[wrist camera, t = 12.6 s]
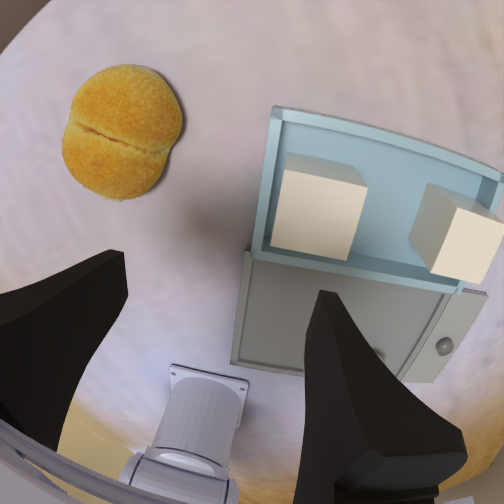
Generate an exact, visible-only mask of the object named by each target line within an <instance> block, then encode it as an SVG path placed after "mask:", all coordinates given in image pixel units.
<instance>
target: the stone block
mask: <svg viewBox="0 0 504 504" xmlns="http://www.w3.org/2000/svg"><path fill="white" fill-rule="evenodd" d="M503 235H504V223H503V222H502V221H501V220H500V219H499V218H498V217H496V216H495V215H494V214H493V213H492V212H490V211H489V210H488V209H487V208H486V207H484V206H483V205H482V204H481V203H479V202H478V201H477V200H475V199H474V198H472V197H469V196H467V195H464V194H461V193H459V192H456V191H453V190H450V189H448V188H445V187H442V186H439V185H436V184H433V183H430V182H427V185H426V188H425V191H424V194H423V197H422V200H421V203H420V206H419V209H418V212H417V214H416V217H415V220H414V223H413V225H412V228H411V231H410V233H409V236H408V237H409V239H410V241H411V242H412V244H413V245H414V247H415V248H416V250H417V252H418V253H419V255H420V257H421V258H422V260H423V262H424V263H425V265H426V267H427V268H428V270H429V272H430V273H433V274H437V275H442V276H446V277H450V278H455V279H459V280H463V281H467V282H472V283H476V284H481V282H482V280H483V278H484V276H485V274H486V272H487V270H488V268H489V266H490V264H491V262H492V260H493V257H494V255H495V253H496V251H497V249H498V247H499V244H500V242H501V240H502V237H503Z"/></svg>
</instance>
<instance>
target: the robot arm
mask: <svg viewBox="0 0 504 504" xmlns="http://www.w3.org/2000/svg"><path fill="white" fill-rule="evenodd" d="M127 298H128V288H127V279H126V270H125V260H124V252H121V251H116V250H112V249H109V250H107V251H104V252H102V253H99V254H97V255H95V256H93V257H90V258H88V259H86V260H84V261H82V262H80V263H78V264H76V265H74V266H72V267H70V268H68V269H66V270H63V271H61V272H59V273H57V274H55V275H52V276H50V277H48V278H46V279H44V280H41V281H39V282H36V283H34V284H31V285H28V286H25V287H23V288H20V289H17V290H13V291H10V292H6V293H2V294H0V504H85V503H83V502H81V501H79V500H77V499H75V498H73V497H71V496H69V495H68V494H67V492H66V491H64V490H63V489H61V488H60V487H58V486H57V485H56V484H54V483H53V482H52V481H51V480H49V479H48V478H47V477H46V476H45V475H44V474H43V473H42V472H41V471H40V470H38V469H37V468H35V467H34V466H33V465H31V464H30V463H28V462H27V461H26V460H24V458H25V459H27V460H28V461H30V462H31V463H33V464H35V465H36V466H38V467H40V468H41V469H43V470H45V471H47V472H48V473H50V474H52V475H54V476H56V477H57V478H59V479H61V480H63V481H65V482H67V483H69V484H71V485H73V486H75V487H77V488H79V489H81V490H83V491H85V492H87V493H89V494H91V495H94V496H96V497H98V498H101V499H103V500H105V501H108V502H110V503H113V504H238V501H239V486H238V484H237V483H236V481H235V480H234V479H231V478H228V476H229V471H230V469H228V468H227V466H228V462H229V457H230V452H231V448H232V443H233V438H234V433H235V428H238V427H239V426H240V422H241V417H242V413H243V408H244V404H245V399H246V395H247V390H248V385H249V384H248V382H246V381H243V380H237V379H232V378H227V377H223V376H218V375H213V374H209V373H204V372H200V371H196V370H191V369H187V368H183V367H179V366H175V365H171V366H170V367H169V377H170V387H171V397H170V399H169V402H168V404H167V407H166V410H165V412H164V415H163V417H162V420H161V423H160V425H159V428H158V431H157V433H156V436H155V439H154V441H153V444H152V447H150V446H147V448H146V451H145V453H144V454H143V453H140V452H138V453H136V454H134V455H132V456H130V457H129V458H128V460H127V461H126V463H125V465H124V467H123V469H122V471H121V474H120V477H119V480H118V481H117V480H115V479H112V478H109V477H107V476H105V475H102V474H100V473H97V472H95V471H93V470H91V469H89V468H86V467H84V466H82V465H80V464H78V463H76V462H74V461H72V460H70V459H68V458H66V457H64V456H62V455H60V454H58V453H56V452H57V448H58V443H59V439H60V435H61V432H62V428H63V424H64V421H65V418H66V415H67V412H68V409H69V406H70V403H71V401H72V398H73V396H74V393H75V391H76V388H77V386H78V383H79V381H80V379H81V377H82V375H83V373H84V370H85V368H86V366H87V364H88V363H89V361H90V359H91V357H92V356H93V354H94V353H95V351H96V350H97V348H98V347H99V345H100V344H101V342H102V341H103V339H104V338H105V336H106V335H107V333H108V332H109V330H110V328H111V327H112V325H113V324H114V322H115V321H116V319H117V318H118V316H119V314H120V312H121V310H122V308H123V306H124V304H125V302H126V300H127ZM304 374H305V426H304V436H303V445H302V452H301V460H300V467H299V473H298V479H297V485H296V490H295V495H294V500H293V504H434V498H435V497H437V496H438V495H439V489H438V485H439V484H440V483H442V482H443V481H445V480H446V479H448V478H449V477H450V476H452V475H453V474H455V473H456V472H457V471H458V470H460V469H461V468H462V467H463V465H464V464H465V463H466V461H467V458H468V455H467V451H466V447H465V443H464V439H463V435H462V432H461V430H460V429H459V428H457V427H456V426H454V425H453V424H451V423H450V422H448V421H447V420H445V419H444V418H442V417H441V416H439V415H438V414H437V413H435V412H434V411H433V410H432V409H430V408H429V407H428V406H427V405H425V404H424V403H423V402H422V401H421V400H419V399H418V398H417V397H416V396H415V395H414V394H413V393H412V392H411V391H409V390H408V389H407V388H406V387H405V386H404V385H403V384H402V383H401V382H400V381H399V380H398V379H397V378H396V377H395V375H394V374H393V373H392V372H391V371H390V370H389V369H388V368H387V366H386V365H385V364H384V363H383V362H382V361H381V359H380V358H379V357H378V356H377V354H376V353H375V352H374V350H373V349H372V347H371V346H370V345H369V343H368V342H367V341H366V339H365V338H364V336H363V335H362V333H361V332H360V330H359V329H358V327H357V325H356V324H355V322H354V321H353V319H352V317H351V316H350V314H349V312H348V311H347V309H346V307H345V306H344V304H343V302H342V300H341V299H340V297H339V296H338V294H337V292H332V291H326V290H319V293H318V297H317V300H316V303H315V306H314V309H313V312H312V316H311V319H310V322H309V325H308V328H307V331H306V339H305V350H304ZM441 504H474V501H473V497H471V496H469V497H465V498H461V499H457V500H452V501H448V502H445V503H441Z"/></svg>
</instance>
